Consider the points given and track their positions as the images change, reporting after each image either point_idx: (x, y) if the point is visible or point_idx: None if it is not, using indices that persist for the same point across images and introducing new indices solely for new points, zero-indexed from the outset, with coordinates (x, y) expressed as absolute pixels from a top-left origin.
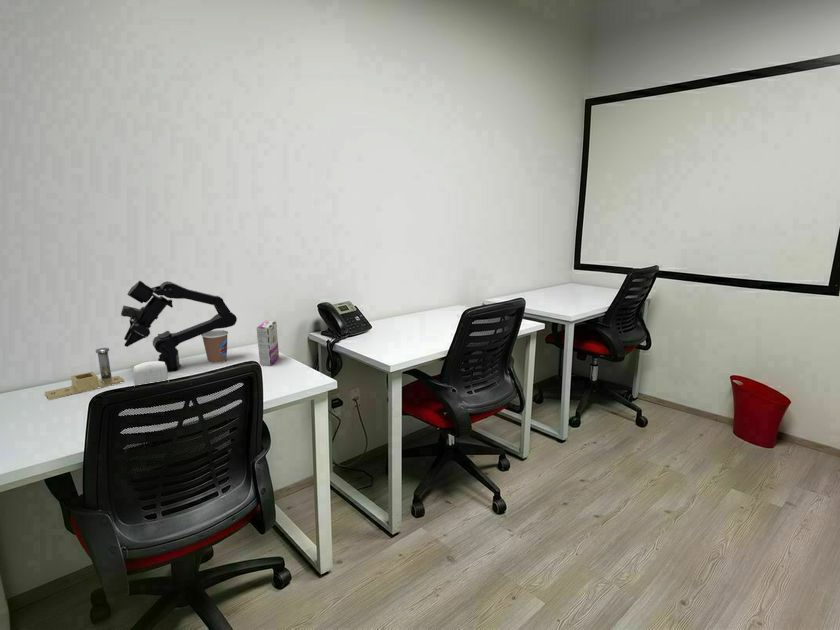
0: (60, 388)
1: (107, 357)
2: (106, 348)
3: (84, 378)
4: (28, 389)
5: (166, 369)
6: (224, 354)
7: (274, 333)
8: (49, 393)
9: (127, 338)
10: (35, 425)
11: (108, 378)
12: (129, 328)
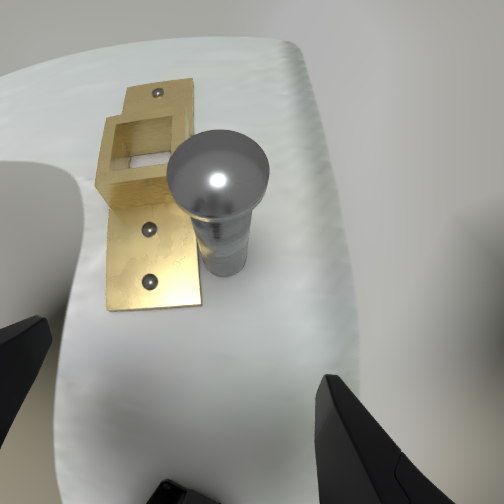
0: (191, 106)
1: (196, 224)
2: (227, 198)
3: (109, 142)
4: (276, 62)
5: None
6: None
7: None
8: (166, 86)
9: (320, 412)
10: (8, 96)
11: (186, 255)
12: (381, 495)
